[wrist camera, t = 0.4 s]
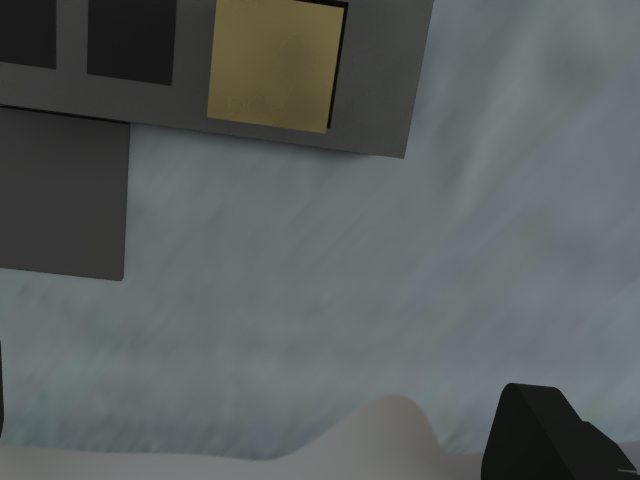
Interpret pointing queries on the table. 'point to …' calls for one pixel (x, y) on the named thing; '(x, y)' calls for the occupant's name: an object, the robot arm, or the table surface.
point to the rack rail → (205, 67)
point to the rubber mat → (63, 193)
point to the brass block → (274, 63)
